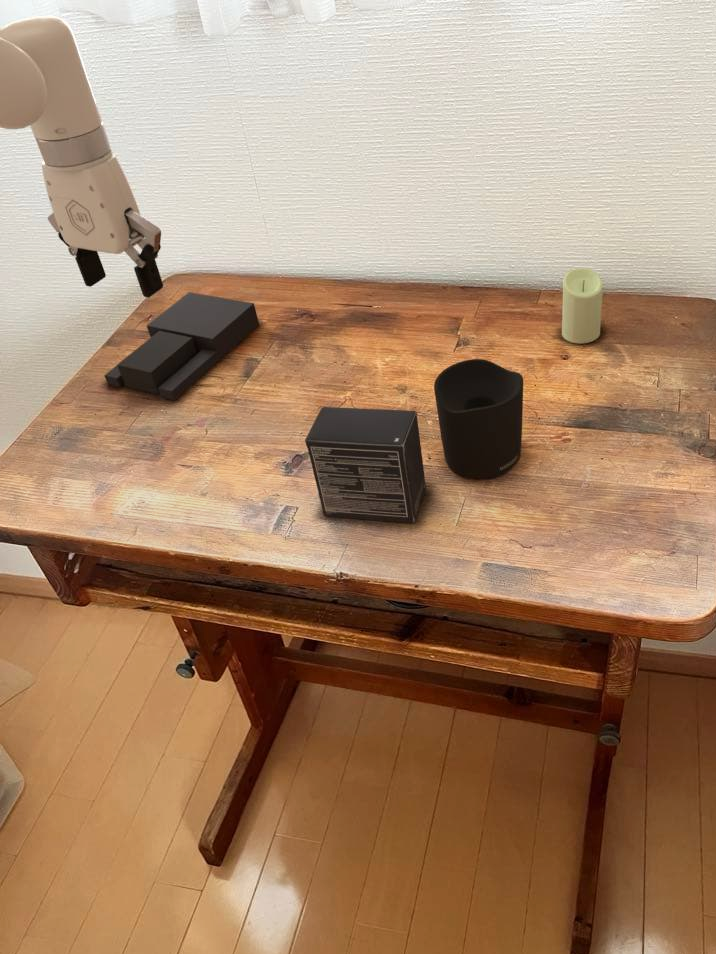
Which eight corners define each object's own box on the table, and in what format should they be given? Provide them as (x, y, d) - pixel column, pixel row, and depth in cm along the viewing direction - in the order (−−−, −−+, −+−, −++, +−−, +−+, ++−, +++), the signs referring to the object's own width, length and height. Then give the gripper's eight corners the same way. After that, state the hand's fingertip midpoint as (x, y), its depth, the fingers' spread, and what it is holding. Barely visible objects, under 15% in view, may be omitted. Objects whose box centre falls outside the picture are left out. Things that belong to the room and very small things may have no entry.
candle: (605, 339, 109) (609, 281, 103) (569, 347, 109) (571, 289, 103) (591, 321, 113) (594, 264, 107) (556, 328, 112) (557, 272, 107)
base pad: (174, 400, 110) (166, 378, 108) (107, 384, 115) (98, 362, 112) (259, 324, 122) (254, 303, 120) (195, 312, 127) (189, 291, 124)
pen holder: (446, 488, 92) (439, 415, 85) (437, 437, 98) (429, 365, 91) (531, 477, 91) (531, 402, 84) (516, 426, 98) (514, 353, 91)
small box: (428, 484, 92) (419, 407, 85) (415, 525, 88) (405, 447, 81) (338, 478, 95) (321, 402, 88) (321, 517, 90) (302, 441, 83)
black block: (159, 394, 111) (150, 372, 109) (125, 386, 114) (116, 364, 111) (199, 359, 117) (192, 337, 114) (166, 352, 119) (159, 330, 117)
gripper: (-4, 152, 95) (54, 291, 107) (109, 164, 88) (157, 311, 100) (44, 130, 100) (95, 265, 111) (154, 139, 93) (196, 282, 105)
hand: (124, 287), depth 106 cm, fingers open, 9 cm apart
